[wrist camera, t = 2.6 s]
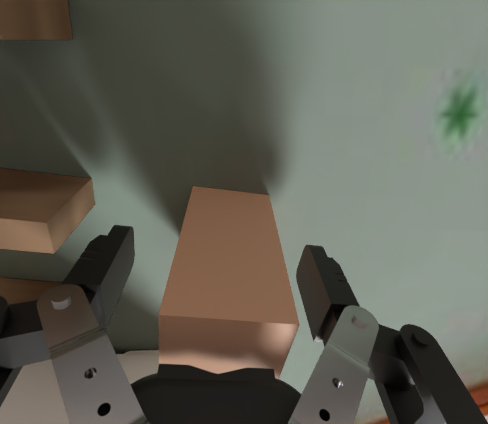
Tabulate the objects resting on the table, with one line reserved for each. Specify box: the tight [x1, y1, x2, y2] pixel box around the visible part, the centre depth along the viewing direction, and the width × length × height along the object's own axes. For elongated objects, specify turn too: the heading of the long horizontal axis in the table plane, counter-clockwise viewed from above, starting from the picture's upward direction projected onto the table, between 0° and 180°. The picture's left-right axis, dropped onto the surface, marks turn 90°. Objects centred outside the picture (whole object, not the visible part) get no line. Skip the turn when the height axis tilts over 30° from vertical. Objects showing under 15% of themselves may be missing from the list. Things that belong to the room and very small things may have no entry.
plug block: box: [159, 186, 299, 379], centre depth 12 cm, size 4×4×8 cm
